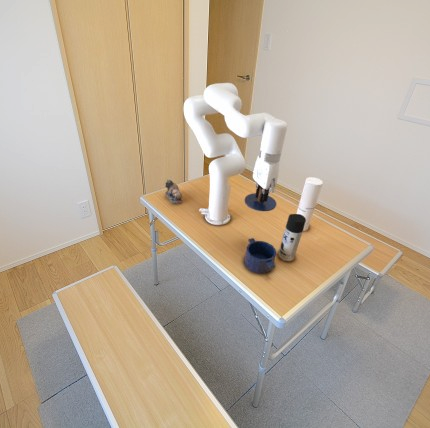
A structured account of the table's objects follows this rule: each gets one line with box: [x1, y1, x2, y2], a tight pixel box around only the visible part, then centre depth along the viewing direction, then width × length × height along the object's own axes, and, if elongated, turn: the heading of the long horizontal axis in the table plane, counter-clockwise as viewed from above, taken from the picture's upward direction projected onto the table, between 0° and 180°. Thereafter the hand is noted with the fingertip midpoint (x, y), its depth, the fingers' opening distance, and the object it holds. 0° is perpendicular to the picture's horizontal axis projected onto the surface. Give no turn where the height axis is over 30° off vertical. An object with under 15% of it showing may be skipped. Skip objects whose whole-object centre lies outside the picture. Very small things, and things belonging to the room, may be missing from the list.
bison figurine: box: [164, 179, 183, 204], centre depth 147 cm, size 12×7×10 cm, turn 37°
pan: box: [244, 237, 277, 274], centre depth 112 cm, size 12×17×7 cm
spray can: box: [278, 213, 306, 262], centre depth 112 cm, size 7×7×20 cm
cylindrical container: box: [295, 176, 324, 232], centre depth 129 cm, size 7×7×25 cm
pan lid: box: [244, 187, 277, 212], centre depth 109 cm, size 13×13×7 cm
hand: (260, 198), depth 109 cm, fingers closed on pan lid, 2 cm apart
